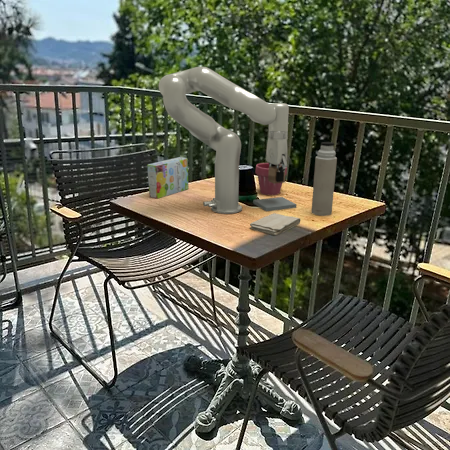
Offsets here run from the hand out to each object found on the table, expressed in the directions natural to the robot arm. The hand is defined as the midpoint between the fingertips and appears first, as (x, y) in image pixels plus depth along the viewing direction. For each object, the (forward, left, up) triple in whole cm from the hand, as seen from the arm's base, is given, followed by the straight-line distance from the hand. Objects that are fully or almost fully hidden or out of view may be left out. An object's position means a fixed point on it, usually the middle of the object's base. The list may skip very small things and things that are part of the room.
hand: (276, 179), depth 178 cm
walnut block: (0, 0, -1) cm, 1 cm away
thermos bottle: (+13, -15, -11) cm, 23 cm away
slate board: (0, 0, -11) cm, 11 cm away
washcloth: (-12, -23, -12) cm, 28 cm away
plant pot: (+8, +19, -11) cm, 23 cm away
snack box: (-36, +35, -12) cm, 52 cm away
